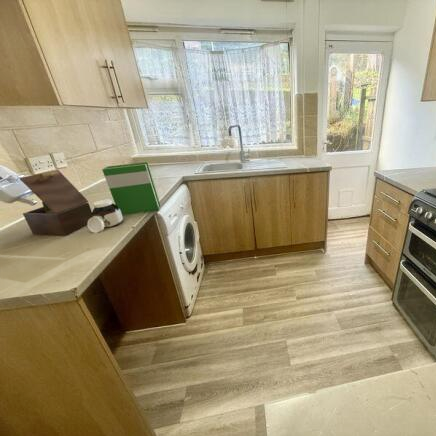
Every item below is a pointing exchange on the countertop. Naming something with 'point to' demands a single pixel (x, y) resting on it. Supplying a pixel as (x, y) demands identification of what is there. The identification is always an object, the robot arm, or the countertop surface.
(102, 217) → the spread jar
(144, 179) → the hardback book
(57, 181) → the chest lid
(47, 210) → the fennel bulb
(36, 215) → the chest
